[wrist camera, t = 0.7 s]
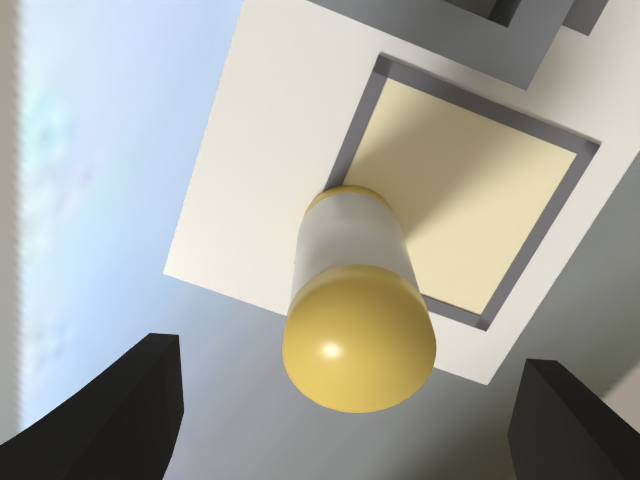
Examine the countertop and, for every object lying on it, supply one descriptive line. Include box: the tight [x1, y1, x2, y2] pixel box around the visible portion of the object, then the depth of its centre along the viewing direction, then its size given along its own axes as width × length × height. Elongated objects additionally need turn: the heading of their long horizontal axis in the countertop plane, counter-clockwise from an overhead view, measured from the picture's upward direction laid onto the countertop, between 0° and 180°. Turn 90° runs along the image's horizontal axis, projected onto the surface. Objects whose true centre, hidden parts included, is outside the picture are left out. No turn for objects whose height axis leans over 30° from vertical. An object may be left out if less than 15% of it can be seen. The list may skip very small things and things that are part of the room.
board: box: [163, 0, 640, 385], centre depth 18 cm, size 18×13×1 cm
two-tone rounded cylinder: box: [282, 185, 437, 413], centre depth 16 cm, size 4×4×7 cm
